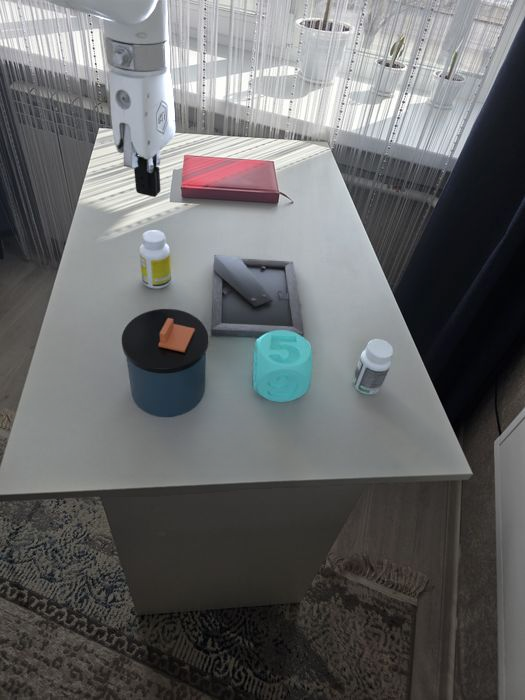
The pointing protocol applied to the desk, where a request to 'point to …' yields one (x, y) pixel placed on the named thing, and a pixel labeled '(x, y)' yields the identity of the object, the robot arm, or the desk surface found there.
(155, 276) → the supplement bottle
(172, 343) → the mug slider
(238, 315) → the picture frame
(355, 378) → the pill bottle
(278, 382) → the decorative dice
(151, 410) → the travel mug
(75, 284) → the desk surface
